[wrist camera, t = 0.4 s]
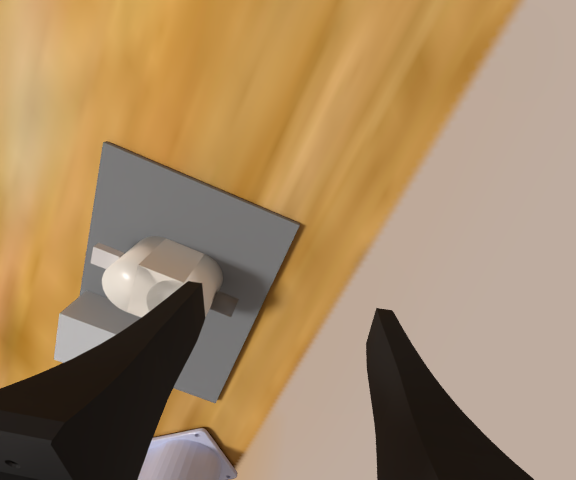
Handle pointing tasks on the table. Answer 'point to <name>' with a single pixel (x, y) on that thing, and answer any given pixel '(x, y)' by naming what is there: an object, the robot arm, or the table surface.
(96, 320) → the block
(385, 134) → the table surface
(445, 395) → the robot arm
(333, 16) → the table surface
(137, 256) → the plug
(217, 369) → the mat
